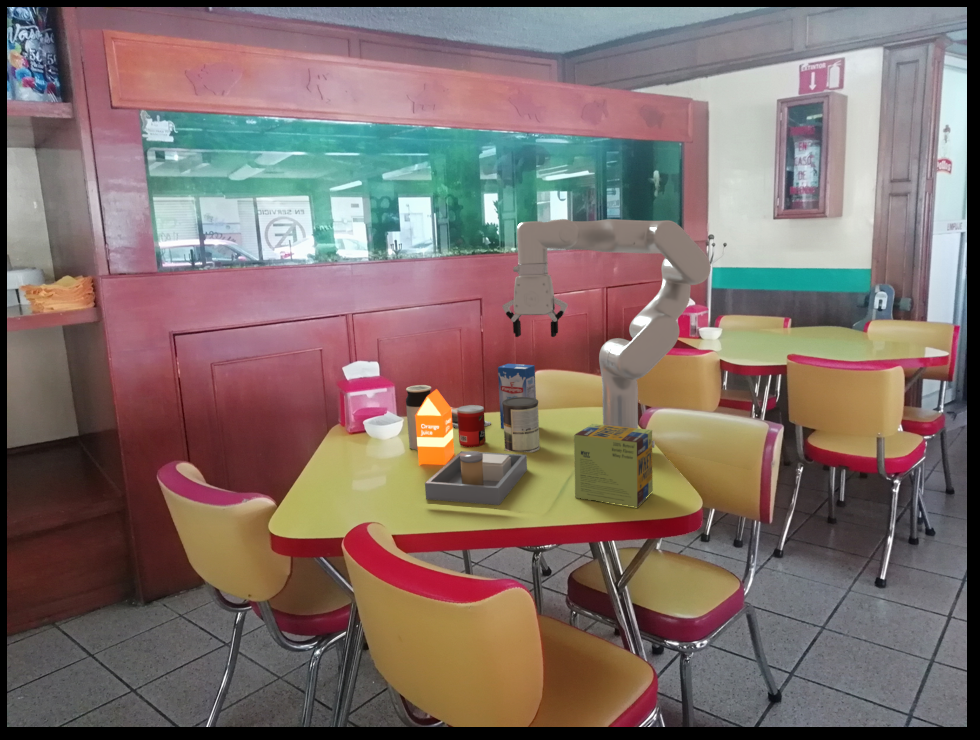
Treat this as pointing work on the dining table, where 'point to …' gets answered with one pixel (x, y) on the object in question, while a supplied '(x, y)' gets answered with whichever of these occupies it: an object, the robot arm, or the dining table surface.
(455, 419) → the packaged product
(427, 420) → the orange juice
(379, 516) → the dining table surface
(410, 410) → the travel mug
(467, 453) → the amber jar
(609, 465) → the protein box
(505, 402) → the coffee can
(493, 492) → the tray
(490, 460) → the egg box
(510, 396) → the milk carton
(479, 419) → the canned food
